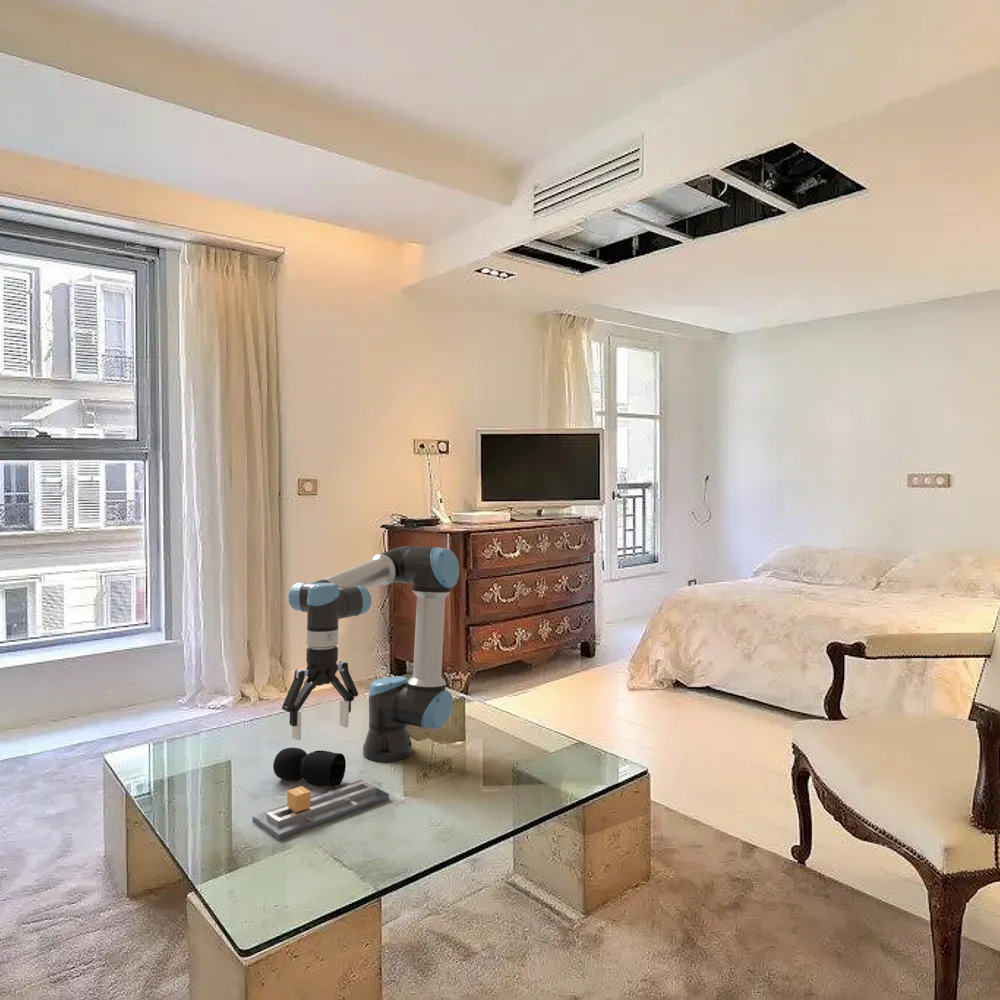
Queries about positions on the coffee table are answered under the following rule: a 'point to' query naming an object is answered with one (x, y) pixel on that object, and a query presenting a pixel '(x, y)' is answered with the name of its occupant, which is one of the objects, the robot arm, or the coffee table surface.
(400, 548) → the robot arm
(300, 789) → the fader knob
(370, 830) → the coffee table surface
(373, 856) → the coffee table surface
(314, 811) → the fader panel
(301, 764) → the black hourglass-shaped sleeve
